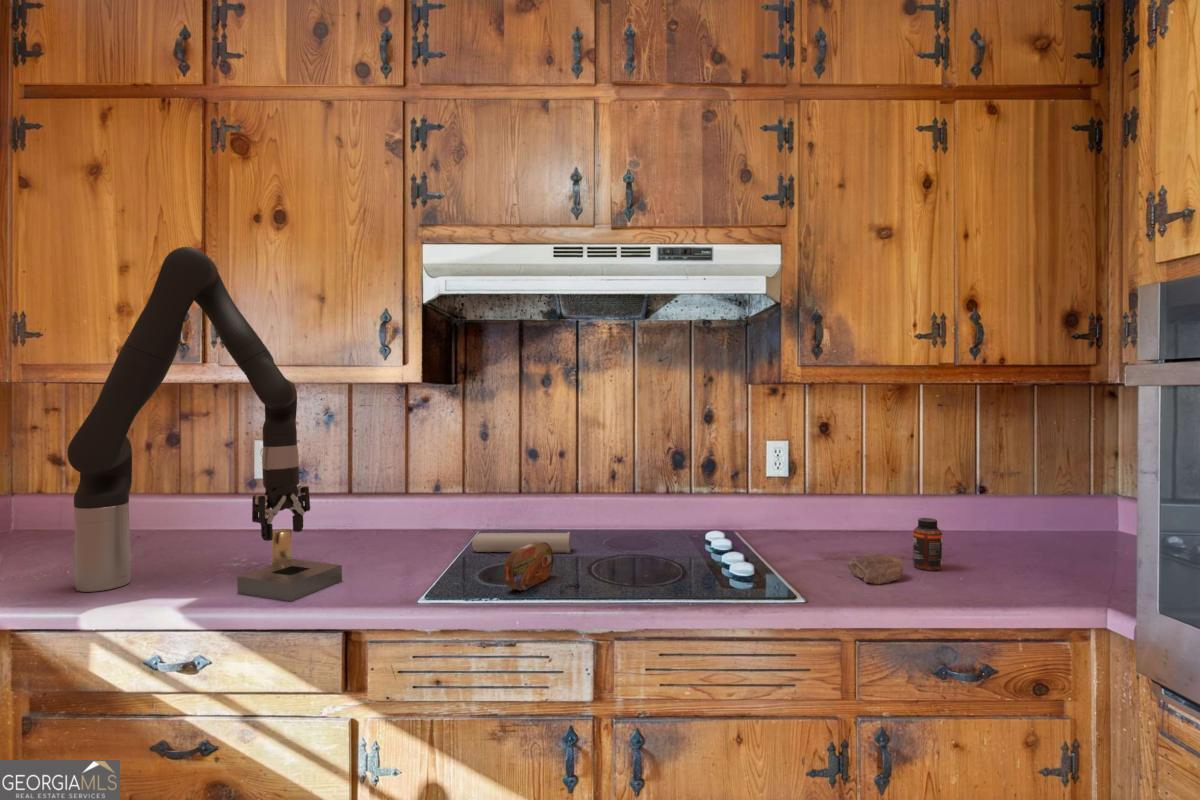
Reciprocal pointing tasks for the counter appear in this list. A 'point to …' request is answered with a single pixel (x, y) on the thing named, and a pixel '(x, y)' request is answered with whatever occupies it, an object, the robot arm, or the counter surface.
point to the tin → (528, 565)
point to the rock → (876, 568)
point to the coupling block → (289, 579)
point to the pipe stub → (281, 546)
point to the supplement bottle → (927, 545)
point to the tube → (520, 541)
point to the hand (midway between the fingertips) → (283, 535)
